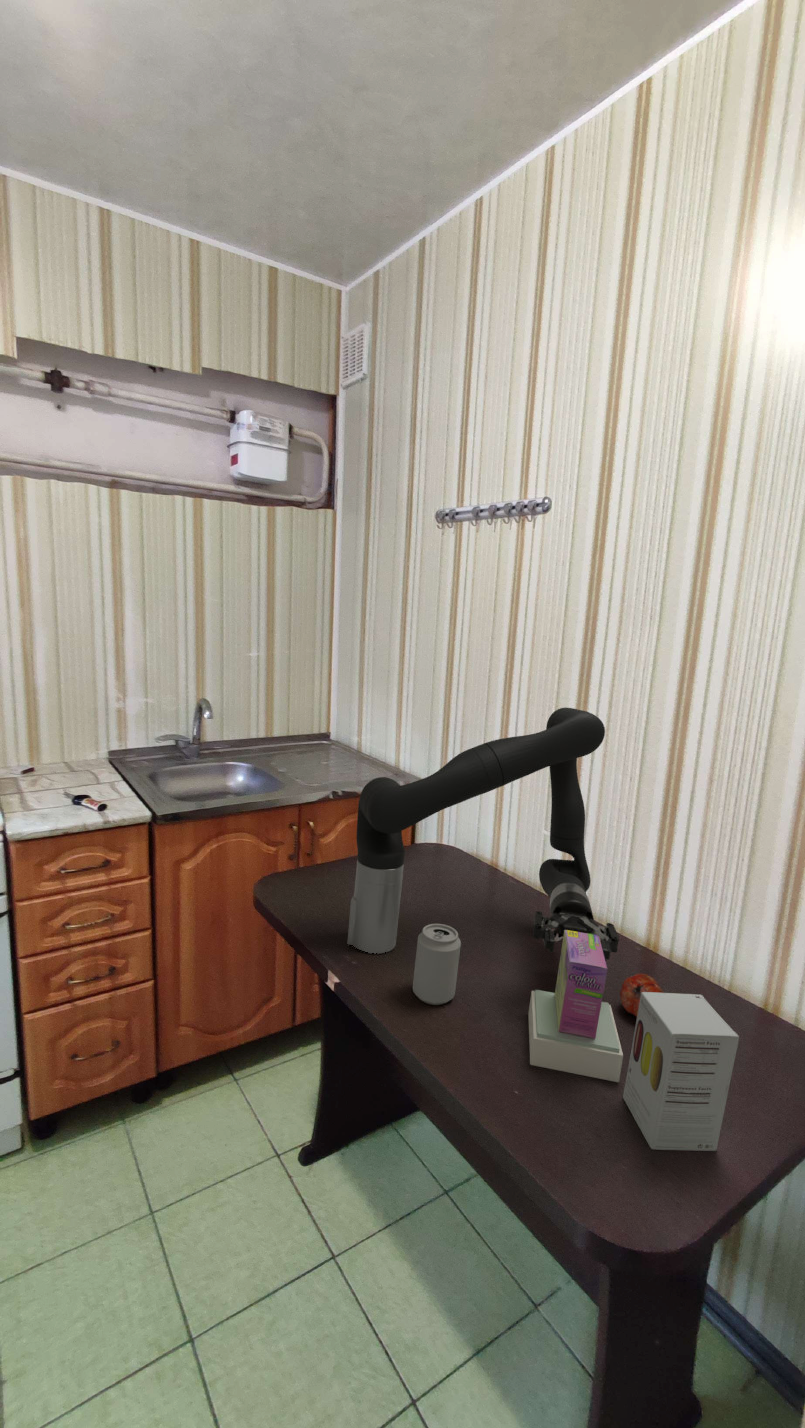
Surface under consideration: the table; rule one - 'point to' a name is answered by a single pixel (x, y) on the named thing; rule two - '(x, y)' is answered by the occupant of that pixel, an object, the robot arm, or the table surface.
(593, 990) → the box
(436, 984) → the can
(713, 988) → the table surface
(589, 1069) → the podium
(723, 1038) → the supplement box
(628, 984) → the pomegranate
